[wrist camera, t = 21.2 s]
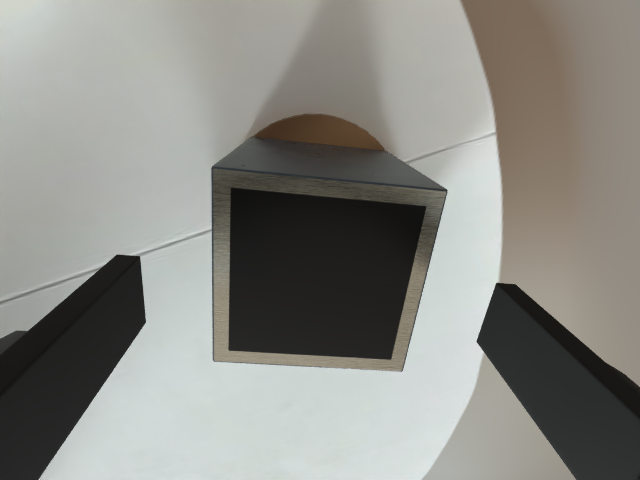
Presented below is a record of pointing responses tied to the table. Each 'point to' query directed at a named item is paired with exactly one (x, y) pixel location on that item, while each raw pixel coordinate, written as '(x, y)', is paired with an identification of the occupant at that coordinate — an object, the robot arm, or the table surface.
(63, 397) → the robot arm
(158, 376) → the table surface
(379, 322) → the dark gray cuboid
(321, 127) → the cork trivet
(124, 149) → the table surface
